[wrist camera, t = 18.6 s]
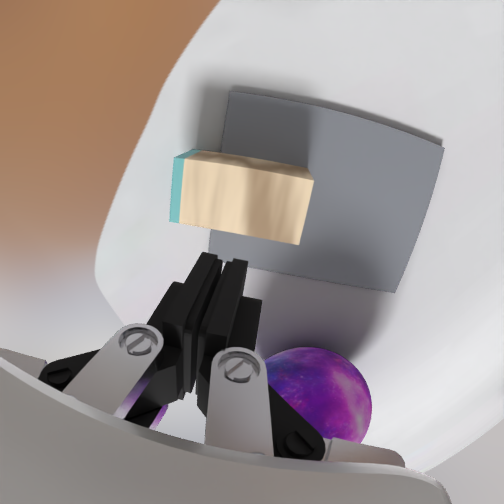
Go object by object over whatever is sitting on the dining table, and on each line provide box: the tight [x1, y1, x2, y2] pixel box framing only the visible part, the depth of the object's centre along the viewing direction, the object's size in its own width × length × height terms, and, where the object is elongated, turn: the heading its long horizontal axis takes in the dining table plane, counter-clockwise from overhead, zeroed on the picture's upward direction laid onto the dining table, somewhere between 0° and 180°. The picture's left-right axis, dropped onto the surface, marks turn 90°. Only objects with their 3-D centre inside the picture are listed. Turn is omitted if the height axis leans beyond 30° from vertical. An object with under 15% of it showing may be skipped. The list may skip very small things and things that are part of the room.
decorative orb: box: [264, 347, 372, 443], centre depth 28 cm, size 15×15×15 cm
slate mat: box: [208, 91, 445, 293], centre depth 25 cm, size 20×16×1 cm
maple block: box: [169, 149, 314, 245], centre depth 23 cm, size 5×5×10 cm
